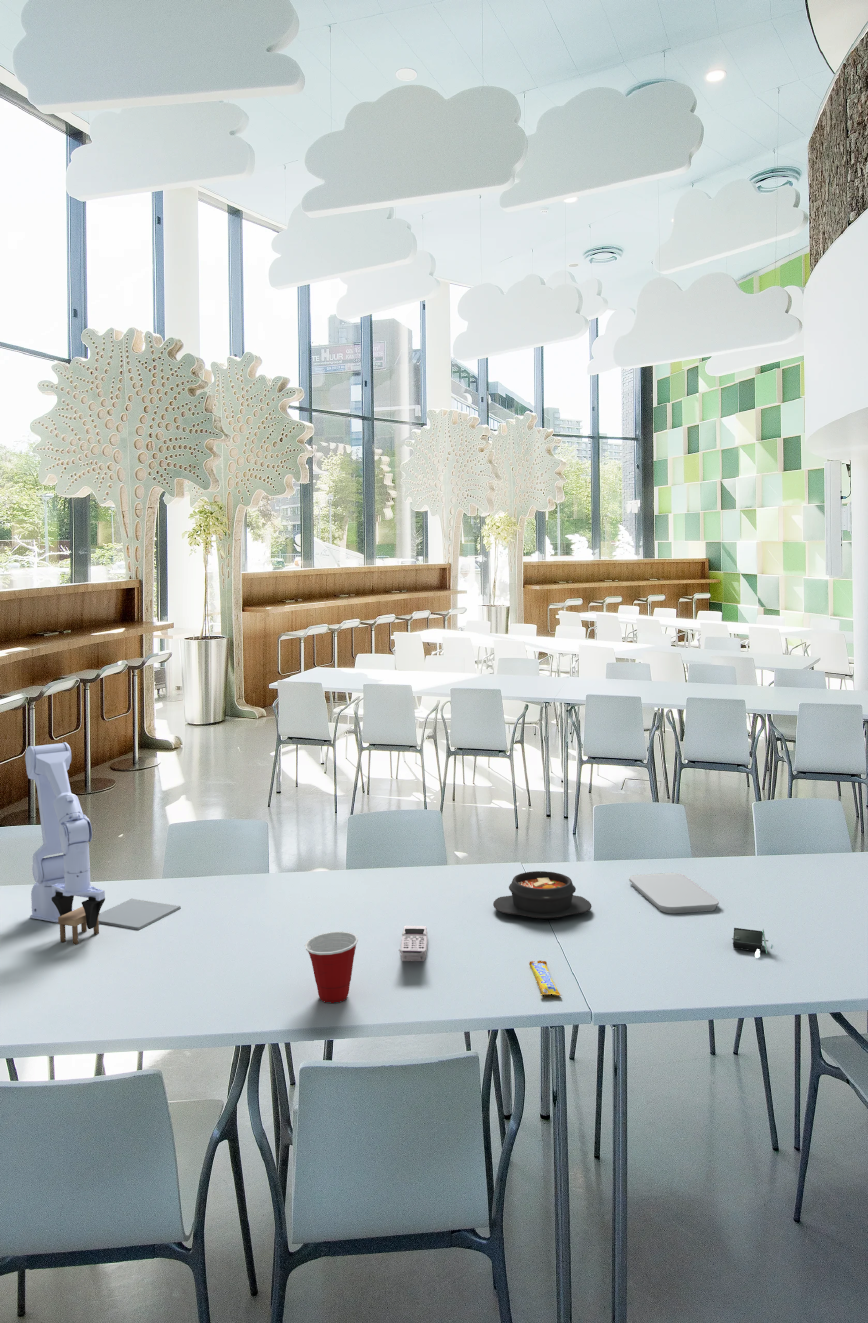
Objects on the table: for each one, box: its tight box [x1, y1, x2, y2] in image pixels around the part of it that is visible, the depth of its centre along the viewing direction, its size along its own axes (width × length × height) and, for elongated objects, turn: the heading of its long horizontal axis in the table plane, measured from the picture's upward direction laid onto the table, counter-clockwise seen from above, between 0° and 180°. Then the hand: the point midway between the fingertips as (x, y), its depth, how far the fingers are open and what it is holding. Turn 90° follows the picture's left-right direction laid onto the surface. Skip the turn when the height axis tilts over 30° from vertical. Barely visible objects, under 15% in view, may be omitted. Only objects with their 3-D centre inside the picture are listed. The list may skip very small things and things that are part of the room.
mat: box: [98, 898, 181, 931], centre depth 235 cm, size 16×16×1 cm
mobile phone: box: [398, 925, 428, 962], centre depth 210 cm, size 6×6×25 cm
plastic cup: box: [304, 931, 359, 1004], centre depth 187 cm, size 11×11×12 cm
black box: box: [731, 927, 773, 959], centre depth 211 cm, size 15×15×6 cm
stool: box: [57, 905, 100, 945], centre depth 220 cm, size 5×8×6 cm, turn 157°
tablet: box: [628, 872, 720, 914], centre depth 246 cm, size 16×26×2 cm, turn 9°
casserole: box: [492, 870, 593, 920], centre depth 235 cm, size 25×19×8 cm
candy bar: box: [528, 960, 562, 997], centre depth 194 cm, size 17×4×2 cm, turn 3°
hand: (79, 925), depth 220 cm, fingers open, 7 cm apart
